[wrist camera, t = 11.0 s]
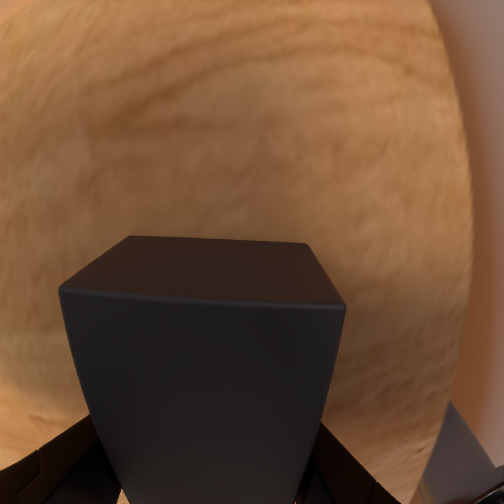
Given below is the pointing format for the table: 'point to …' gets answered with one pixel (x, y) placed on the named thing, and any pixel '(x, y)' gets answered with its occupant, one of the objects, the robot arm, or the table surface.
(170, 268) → the black rectangular block
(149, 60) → the table surface
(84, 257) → the table surface
